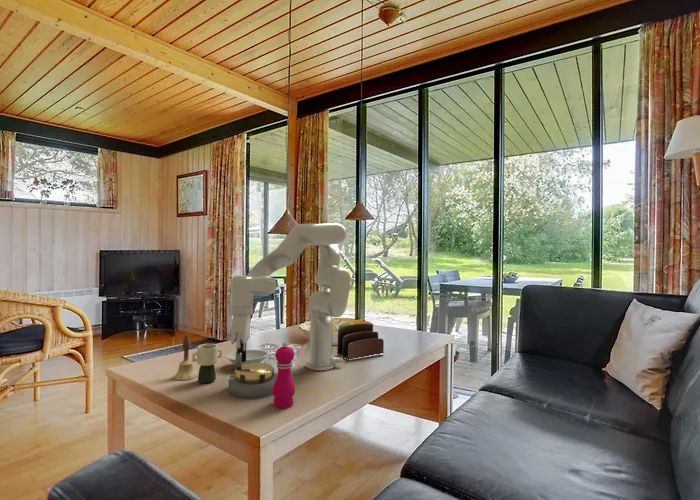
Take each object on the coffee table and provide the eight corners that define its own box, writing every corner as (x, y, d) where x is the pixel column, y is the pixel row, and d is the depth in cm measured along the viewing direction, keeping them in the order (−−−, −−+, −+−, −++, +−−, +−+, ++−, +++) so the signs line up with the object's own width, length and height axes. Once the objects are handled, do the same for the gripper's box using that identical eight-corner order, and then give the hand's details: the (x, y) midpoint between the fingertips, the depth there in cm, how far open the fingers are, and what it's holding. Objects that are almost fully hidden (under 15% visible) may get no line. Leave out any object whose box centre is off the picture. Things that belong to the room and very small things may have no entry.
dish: (230, 375, 151) (230, 362, 151) (221, 364, 163) (221, 352, 163) (274, 368, 160) (274, 356, 160) (262, 359, 172) (262, 347, 172)
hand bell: (173, 374, 149) (174, 332, 149) (197, 372, 153) (198, 331, 152) (173, 381, 142) (174, 338, 142) (197, 379, 145) (198, 336, 145)
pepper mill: (267, 406, 123) (269, 343, 123) (279, 398, 130) (281, 338, 129) (287, 410, 120) (289, 346, 120) (298, 402, 127) (300, 340, 127)
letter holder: (336, 355, 181) (337, 325, 181) (371, 350, 192) (372, 321, 192) (348, 361, 173) (349, 329, 173) (383, 355, 183) (384, 325, 183)
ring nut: (274, 370, 144) (275, 347, 144) (272, 383, 132) (273, 358, 131) (237, 371, 143) (238, 348, 142) (232, 384, 130) (232, 358, 130)
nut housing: (280, 380, 146) (280, 369, 146) (276, 398, 130) (276, 385, 129) (233, 380, 145) (234, 369, 145) (223, 398, 128) (223, 386, 128)
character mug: (218, 375, 149) (219, 341, 149) (225, 381, 144) (225, 346, 144) (188, 381, 143) (189, 345, 142) (194, 387, 137) (195, 350, 137)
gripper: (236, 306, 147) (235, 355, 147) (225, 314, 132) (224, 368, 132) (256, 307, 147) (255, 355, 147) (248, 314, 132) (247, 368, 132)
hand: (241, 361), depth 140 cm, fingers closed
